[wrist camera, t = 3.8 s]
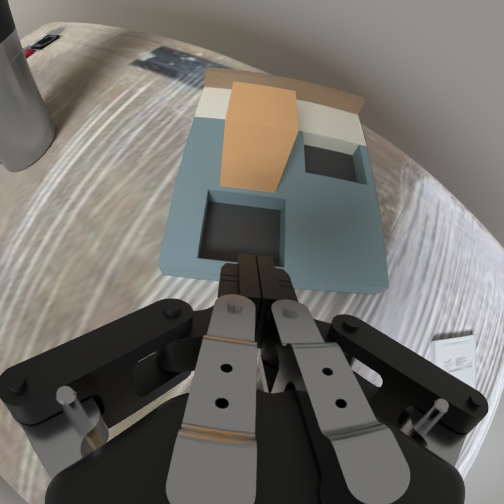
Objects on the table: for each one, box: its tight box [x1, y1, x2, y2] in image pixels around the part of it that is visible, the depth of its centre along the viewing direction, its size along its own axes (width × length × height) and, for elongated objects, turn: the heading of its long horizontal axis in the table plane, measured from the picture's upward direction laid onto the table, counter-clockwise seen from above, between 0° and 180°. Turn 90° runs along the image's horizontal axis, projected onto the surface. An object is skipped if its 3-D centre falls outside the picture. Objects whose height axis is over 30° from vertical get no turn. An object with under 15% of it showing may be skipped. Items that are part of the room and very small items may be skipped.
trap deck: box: [158, 67, 389, 294], centre depth 27 cm, size 20×24×5 cm
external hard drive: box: [431, 334, 476, 389], centre depth 23 cm, size 2×8×12 cm
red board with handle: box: [22, 35, 60, 58], centre depth 33 cm, size 30×3×15 cm
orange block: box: [220, 82, 298, 193], centre depth 22 cm, size 5×5×8 cm
